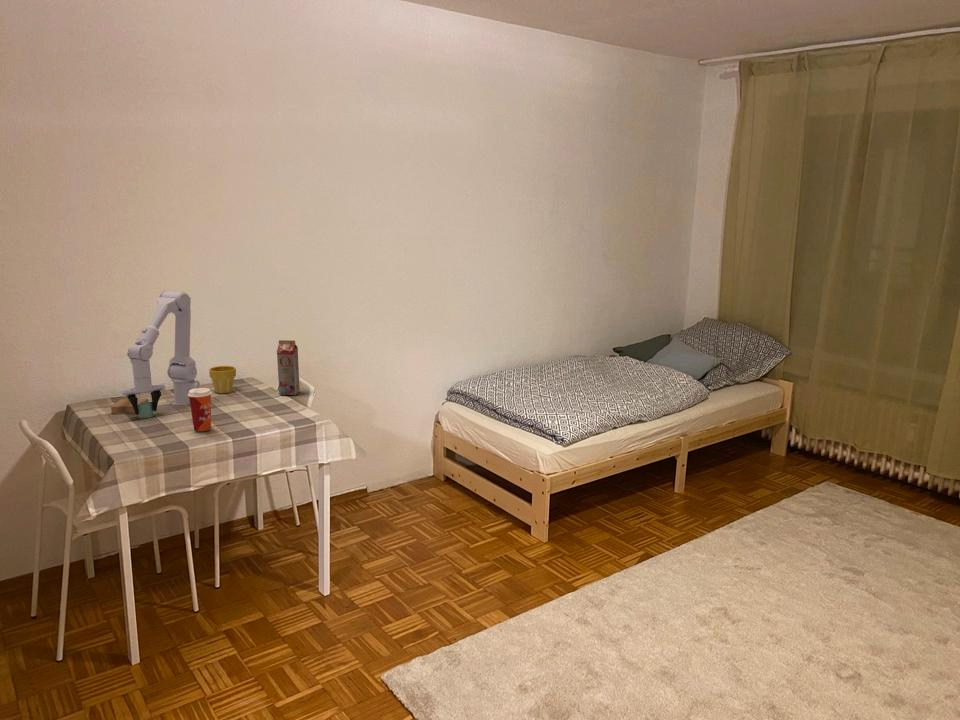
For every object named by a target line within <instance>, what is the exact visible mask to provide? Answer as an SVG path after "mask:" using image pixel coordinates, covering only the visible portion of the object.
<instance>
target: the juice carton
mask: <svg viewBox="0 0 960 720" xmlns="http://www.w3.org/2000/svg"><path fill="white" fill-rule="evenodd" d="M276 358H277V362H276V363H277V379H278V393H279V396H281V395H282V396H284V395H285V396H289V395H290V396H296V395H297V394H298V393H299V392H300V390H301V389H300V388H301V387H300V372H299V370H300V368H299V365H300V364H299V348H298V346H297V345H296V340H287V339H286V340H285V339H284V340H283V339H282V340H279V339H278V346H277V348H276Z"/></svg>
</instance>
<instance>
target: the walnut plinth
mask: <svg viewBox="0 0 960 720" xmlns="http://www.w3.org/2000/svg"><path fill="white" fill-rule="evenodd" d="M140 402H149V398H138V404H139V403H140ZM110 407H111V408H110V409H111V410H110V411H111V415H136V414H135V412H134V409H133V406H132V404H131V402H130V401H129V399H128V398H121V399H119V400H117V401H116V402H115V403H114V404H113V405H111V406H110Z"/></svg>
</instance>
